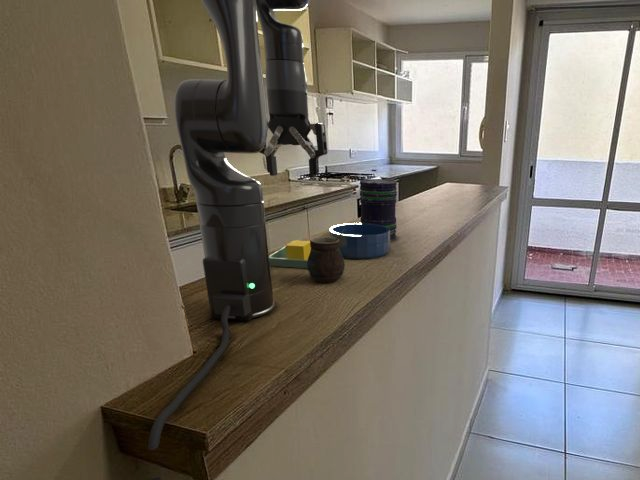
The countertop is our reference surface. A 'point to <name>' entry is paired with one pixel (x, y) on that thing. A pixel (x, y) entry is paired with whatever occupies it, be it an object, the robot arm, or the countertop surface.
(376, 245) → the bowl
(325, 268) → the mate gourd
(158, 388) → the countertop surface
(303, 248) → the sponge
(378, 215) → the storage jar
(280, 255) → the soap dish
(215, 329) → the countertop surface
